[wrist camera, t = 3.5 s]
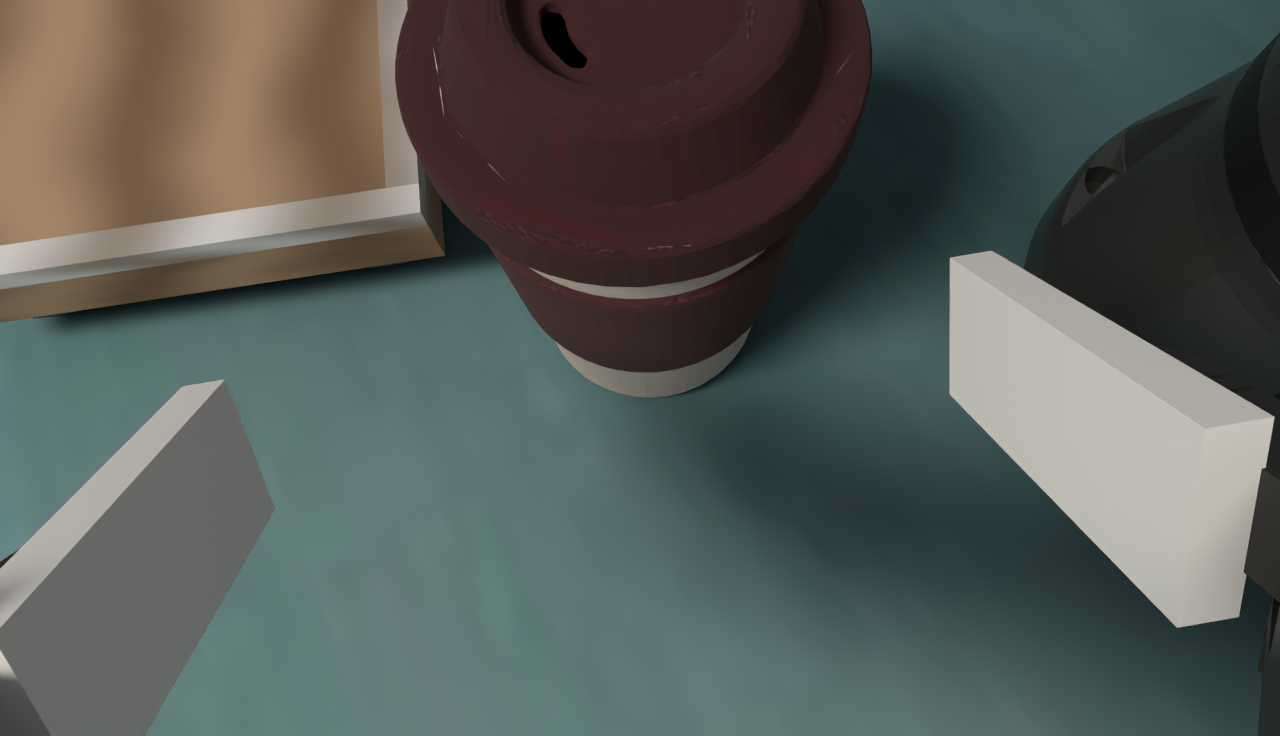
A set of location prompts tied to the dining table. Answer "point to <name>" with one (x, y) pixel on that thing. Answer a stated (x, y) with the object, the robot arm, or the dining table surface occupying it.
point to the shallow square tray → (200, 148)
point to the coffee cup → (636, 159)
